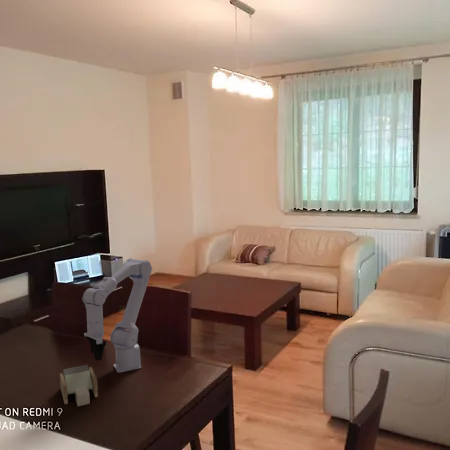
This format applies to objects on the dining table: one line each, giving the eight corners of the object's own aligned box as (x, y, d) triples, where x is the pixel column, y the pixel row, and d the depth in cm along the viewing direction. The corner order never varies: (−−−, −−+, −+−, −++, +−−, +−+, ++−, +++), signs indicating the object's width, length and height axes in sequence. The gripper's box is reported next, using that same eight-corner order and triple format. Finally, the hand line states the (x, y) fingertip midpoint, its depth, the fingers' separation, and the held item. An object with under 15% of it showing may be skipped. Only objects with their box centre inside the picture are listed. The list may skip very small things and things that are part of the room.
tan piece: (92, 383, 172) (91, 367, 171) (98, 396, 162) (96, 379, 161) (60, 390, 167) (59, 373, 166) (64, 404, 157) (63, 386, 157)
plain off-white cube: (86, 386, 162) (89, 392, 157) (87, 397, 162) (89, 403, 158) (74, 389, 160) (77, 395, 156) (75, 400, 160) (77, 406, 156)
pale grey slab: (87, 368, 171) (87, 363, 169) (92, 392, 165) (92, 387, 163) (63, 372, 168) (63, 367, 166) (67, 398, 161) (67, 393, 159)
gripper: (80, 316, 174) (82, 351, 176) (87, 328, 162) (88, 365, 163) (99, 314, 178) (101, 348, 179) (107, 325, 165) (109, 361, 166)
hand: (96, 356), depth 171 cm, fingers open, 7 cm apart
